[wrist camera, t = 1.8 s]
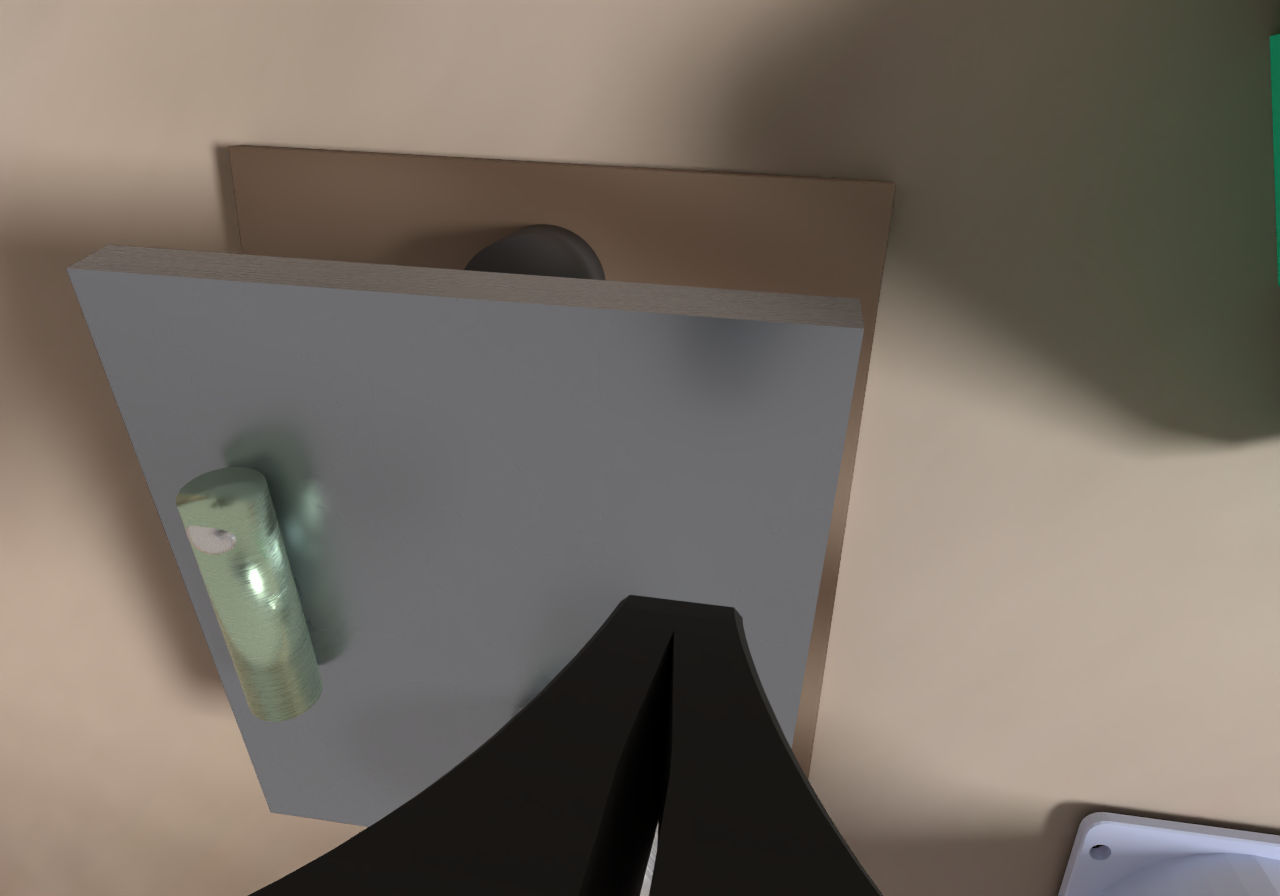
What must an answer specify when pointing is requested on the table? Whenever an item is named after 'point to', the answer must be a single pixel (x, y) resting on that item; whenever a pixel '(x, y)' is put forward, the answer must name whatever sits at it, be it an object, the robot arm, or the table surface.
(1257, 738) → the table surface
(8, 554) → the table surface
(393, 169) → the stand base
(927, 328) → the table surface
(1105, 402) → the table surface
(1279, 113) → the camera mount
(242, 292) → the level plate
